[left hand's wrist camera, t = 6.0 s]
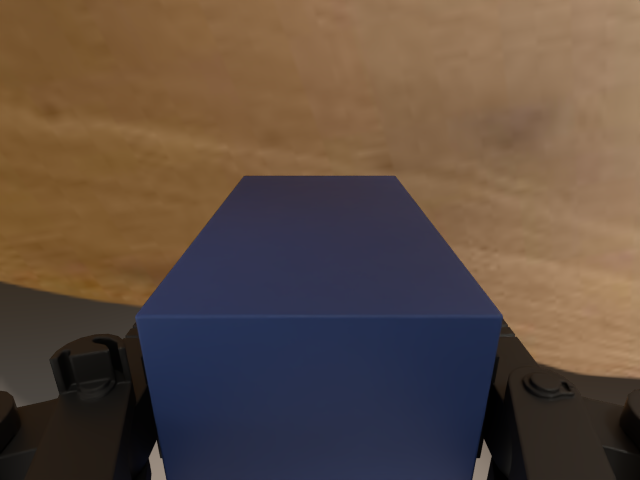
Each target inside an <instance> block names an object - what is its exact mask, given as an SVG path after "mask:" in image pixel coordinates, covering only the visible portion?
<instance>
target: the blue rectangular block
mask: <svg viewBox="0 0 640 480" xmlns="http://www.w3.org/2000/svg"><path fill="white" fill-rule="evenodd" d="M135 318H136V324H137V329H138V334H139V340H140V345H141V350H142V355H143V360H144V366H145V371H146V376H147V381H148V386H149V392H150V397H151V402H152V407H153V412H154V418H155V423H156V428H157V433H158V438H159V443H160V449H161V454H162V459H163V464H164V469H165V475H166V480H472V478H473V473H474V467H475V462H476V457H477V452H478V446H479V441H480V436H481V431H482V426H483V420H484V415H485V410H486V405H487V399H488V394H489V389H490V384H491V378H492V373H493V368H494V363H495V357H496V352H497V347H498V342H499V336H500V331H501V326H502V321H503V316H502V314H501V313H500V311H499V310H498V309H497V307H496V306H495V305H494V303H493V302H492V301H491V300H490V298H489V297H488V296H487V294H486V293H485V292H484V291H483V289H482V288H481V287H480V285H479V284H478V283H477V281H476V280H475V279H474V278H473V276H472V275H471V274H470V272H469V271H468V270H467V268H466V267H465V266H464V265H463V263H462V262H461V261H460V259H459V258H458V257H457V255H456V254H455V253H454V252H453V250H452V249H451V248H450V246H449V245H448V244H447V242H446V241H445V240H444V239H443V237H442V236H441V235H440V233H439V232H438V231H437V230H436V228H435V227H434V226H433V224H432V223H431V222H430V220H429V219H428V218H427V217H426V215H425V214H424V213H423V211H422V210H421V209H420V207H419V206H418V205H417V204H416V202H415V201H414V200H413V198H412V197H411V196H410V194H409V193H408V192H407V191H406V189H405V188H404V187H403V185H402V184H401V183H400V181H399V180H398V179H397V178H396V176H244V177H243V178H242V179H241V181H240V182H239V183H238V184H237V186H236V187H235V188H234V190H233V191H232V192H231V193H230V195H229V196H228V197H227V199H226V200H225V201H224V202H223V204H222V205H221V206H220V208H219V209H218V210H217V211H216V213H215V214H214V215H213V217H212V218H211V219H210V220H209V222H208V223H207V224H206V226H205V227H204V228H203V229H202V231H201V232H200V233H199V235H198V236H197V237H196V238H195V240H194V241H193V242H192V244H191V245H190V246H189V247H188V249H187V250H186V251H185V253H184V254H183V255H182V256H181V258H180V259H179V260H178V262H177V263H176V264H175V265H174V267H173V268H172V269H171V271H170V272H169V273H168V274H167V276H166V277H165V278H164V280H163V281H162V282H161V283H160V285H159V286H158V287H157V289H156V290H155V291H154V292H153V294H152V295H151V296H150V298H149V299H148V300H147V301H146V303H145V304H144V305H143V307H142V308H141V309H140V311H139V312H138V313H137V314H136V317H135Z"/></svg>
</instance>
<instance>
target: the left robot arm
mask: <svg viewBox="0 0 640 480" xmlns="http://www.w3.org/2000/svg"><path fill="white" fill-rule="evenodd" d="M50 364H51V367H52V370H53V374H54V377H55V381H56V384H57V387H58V391H59V397H58V398H57V399H53V400H50V401H46V402H41V403H36V404H32V405H27V406H22V407H18V408H17V407H16V404H15V401H14V398H13V396H12V395H10V394H9V393H8V392H5V391H0V480H151V468H150V463H149V456H150V454H151V451H152V449H153V447H154V445H155V442H156V440H157V444H158V449H159V454H160V458H162V454H161V449H160V443H159V438H158V433H157V428H156V423H155V418H154V412H153V407H152V402H151V397H150V392H149V386H148V381H147V376H146V371H145V366H144V360H143V355H142V350H141V345H140V340H139V334H138V329H137V324H136V323H135V324H134V325H133V329H130V331H129V332H128V333H127V335H126V338H124V339H123V340H122V339H121V338H120V337H118V336H115V335H110V334H96V335H91V336H87V337H83V338H80V339H77V340H75V341H73V342H70V343H68V344H66V345H65V346H63V347H62V348H60V349H59V350H58V351H56V352H55V354H54V355H53V356H52V357H51V358H50ZM483 440H485V442H486V444H487V446H488V449H489V451H490V453H491V455H492V458H491V462H490V467H489V472H488V477H487V480H640V389H638V390H634V391H632V392H631V393H630V394H628V396H627V399H626V402H625V405H624V406H621V405H617V404H612V403H607V402H603V401H598V400H594V399H590V398H586V397H582V396H581V394H580V392H579V391H578V389H577V388H576V387H575V385H574V384H573V383H571V382H570V381H569V380H568V379H566V378H565V377H564V376H562V375H560V374H558V373H555V372H553V371H551V370H548V369H544V368H541V367H539V365H538V364H537V363H536V361H535V360H534V359H533V358H532V356H531V355H530V354H529V352H528V351H527V350H526V348H525V347H524V346H523V344H522V343H521V342H520V340H519V339H518V338H517V337H515V334H514V333H513V331H512V330H511V329H510V327H508V325H507V323H506V322H505V321H504V319H503V321H502V326H501V331H500V336H499V342H498V347H497V352H496V357H495V363H494V368H493V373H492V378H491V384H490V389H489V394H488V399H487V405H486V410H485V415H484V420H483V426H482V431H481V436H480V441H479V446H478V452H477V457H476V458H480V455H481V450H482V445H483Z"/></svg>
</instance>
